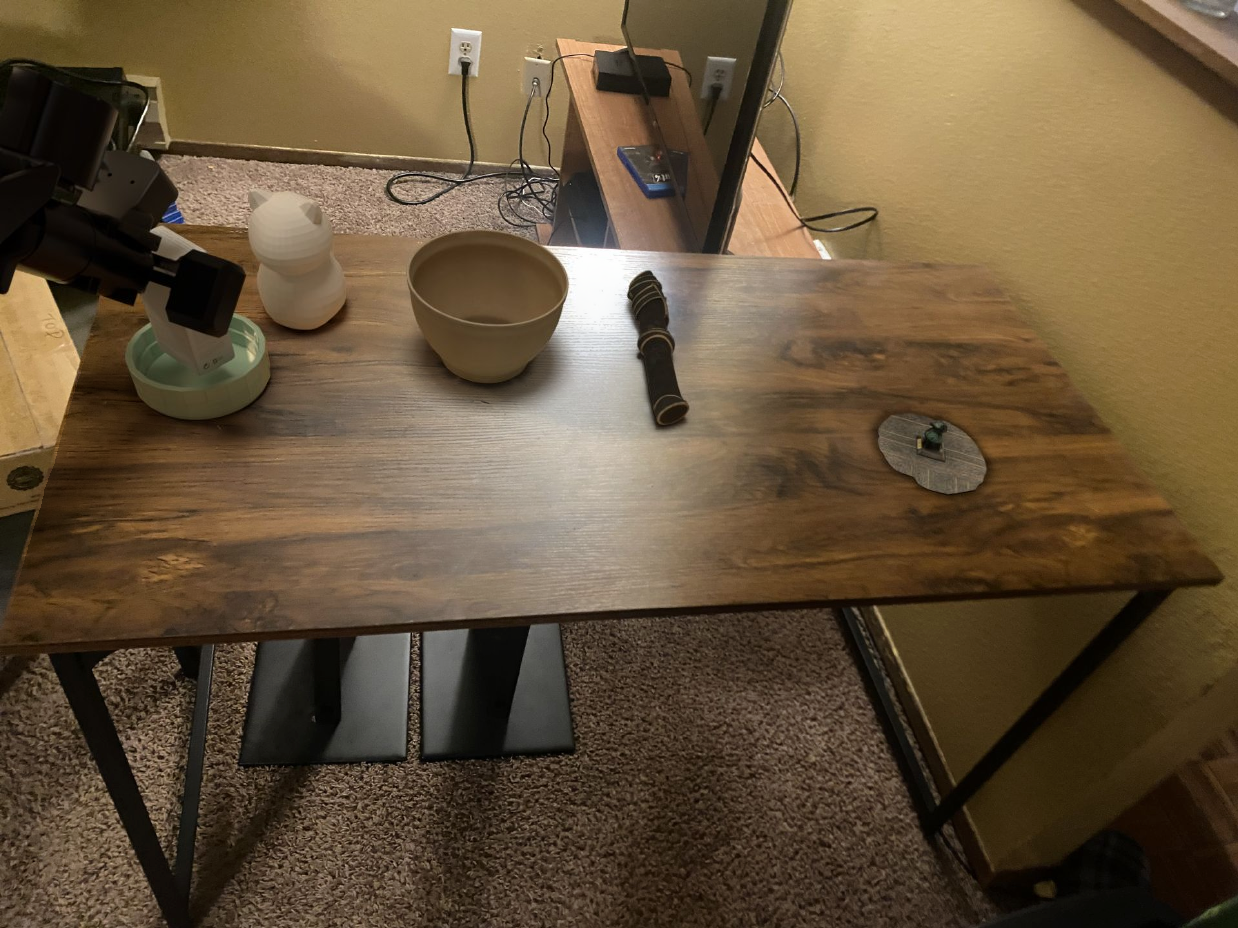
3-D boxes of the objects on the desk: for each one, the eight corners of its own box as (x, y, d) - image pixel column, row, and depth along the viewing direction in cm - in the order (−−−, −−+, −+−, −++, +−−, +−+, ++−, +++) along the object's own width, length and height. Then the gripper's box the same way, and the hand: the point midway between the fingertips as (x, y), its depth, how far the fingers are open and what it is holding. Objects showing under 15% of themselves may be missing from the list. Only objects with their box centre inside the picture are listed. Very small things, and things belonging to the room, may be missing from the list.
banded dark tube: (698, 409, 86) (670, 266, 102) (651, 398, 84) (630, 255, 101) (682, 436, 89) (657, 293, 105) (636, 426, 87) (618, 283, 104)
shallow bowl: (129, 426, 77) (117, 395, 75) (143, 342, 85) (132, 311, 82) (270, 417, 81) (264, 386, 78) (271, 336, 89) (265, 306, 86)
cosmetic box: (238, 357, 81) (213, 249, 72) (198, 380, 78) (167, 270, 69) (194, 330, 83) (165, 221, 74) (154, 351, 80) (118, 240, 71)
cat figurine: (245, 333, 88) (217, 206, 77) (291, 268, 97) (272, 145, 86) (329, 349, 88) (312, 225, 78) (368, 283, 97) (358, 163, 86)
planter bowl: (406, 405, 85) (402, 320, 77) (413, 308, 95) (410, 224, 87) (564, 409, 88) (575, 328, 80) (553, 314, 98) (562, 234, 90)
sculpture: (857, 421, 94) (916, 375, 91) (891, 453, 100) (946, 411, 98) (914, 497, 86) (980, 449, 83) (946, 526, 92) (1009, 482, 90)
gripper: (207, 174, 60) (310, 237, 75) (-16, 102, 62) (129, 178, 77) (158, 321, 60) (271, 353, 76) (-62, 245, 62) (92, 291, 78)
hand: (191, 290), depth 77 cm, fingers closed on cosmetic box, 6 cm apart
